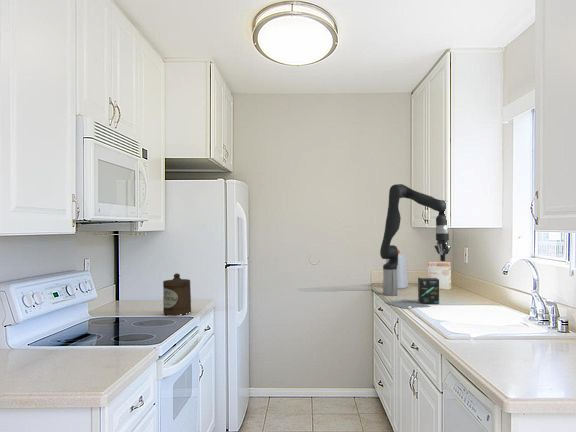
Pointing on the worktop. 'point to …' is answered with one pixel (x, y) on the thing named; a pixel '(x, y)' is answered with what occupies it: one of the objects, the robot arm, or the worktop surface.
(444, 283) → the coffeecake box
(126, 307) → the worktop surface
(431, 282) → the tampon box
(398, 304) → the display mat
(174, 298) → the wooden container
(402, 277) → the plastic bottle
